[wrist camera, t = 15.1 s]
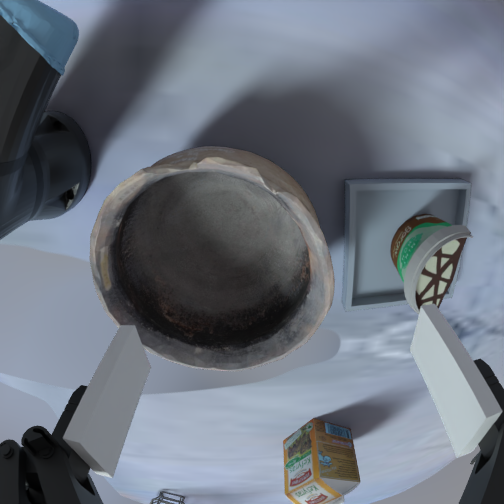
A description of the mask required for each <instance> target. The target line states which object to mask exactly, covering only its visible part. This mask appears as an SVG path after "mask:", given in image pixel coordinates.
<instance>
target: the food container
mask: <svg viewBox="0 0 504 504" xmlns="http://www.w3.org/2000/svg"><path fill="white" fill-rule="evenodd" d="M470 234H471V232H470V231H469V230H468V228H467V227H466V226H464V225H451V224H449V223H447V222H445V221H443V220H441V219H439V218H438V217H436V216H434V215H432V214H420V215H416V216H413V217H412V218H410V219H408V220H406V221H405V222H404V223H403V224H402V225H401V226H400V227H399V228H398V229H397V231H396V233H395V235H394V236H393V239H392V242H391V249H390V253H391V258H392V261H393V263H394V265H395V267H396V269H397V271H398V273H399V275H400V277H401V279H402V281H403V283H404V293H405V297H406V300H407V302H408V304H409V305H410V307H411V308H412V309H413V310H414V311H415V312H417V313H418V314H419V312H420V308H421V306H423V305H429V304H435V305H436V306H437V308H438V309H439V306H440V304H441V302H442V300H443V298H444V296H445V294H446V292H447V291H448V289H449V287H450V285H451V283H452V281H453V278H454V275H455V272H456V269H457V265H458V262H459V258H460V255H461V253H462V250H463V247H464V244H465V241H466V239H467V237H471V238H473V236H471V235H470Z"/></svg>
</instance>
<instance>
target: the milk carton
mask: <svg viewBox="0 0 504 504" xmlns="http://www.w3.org/2000/svg"><path fill="white" fill-rule="evenodd" d="M283 443H284V478H285V495H286V496H287V497H288V499H289V500H290V501H292V502H293V503H294V504H341V503H343V502H344V495H346V494H348V493H349V492H351V491H352V490H354V489H355V488H356V487H357V486H358V485H359V484H360V476H359V471H358V465H357V460H356V455H355V449H354V444H353V439H352V434H351V429H350V428H346V427H342V426H339V425H335V424H332V423H328V422H325V421H321V420H318V419H314V418H313V419H312V420H310V421H309V422H308V423H306V424H305V425H304V426H302V427H301V428H300V429H298V430H297V431H296V432H294V433H293V434H292V435H290V436H289V437H288V438H286V439H285V440H283Z"/></svg>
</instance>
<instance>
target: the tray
mask: <svg viewBox="0 0 504 504" xmlns="http://www.w3.org/2000/svg"><path fill="white" fill-rule="evenodd" d="M470 193H471V183H469V182H467V181H465V180H463V179H441V178H392V179H351V180H345V237H344V268H343V289H342V304H343V307H344V309H345V312H348V311H357V310H366V309H375V308H383V307H391V306H399V305H407V304H408V302H407V300H406V297H405V293H404V283H403V281H402V279H401V277H400V275H399V273H398V271H397V269H396V267H395V265H394V263H393V261H392V258H391V253H390V249H391V242H392V239H393V236H394V235H395V233H396V231H397V229H398V228H399V227H400V226H401V225H402V224H403V223H404V222H405V221H406V220H408V219H410V218H412V217H413V216H416V215H420V214H432V215H434V216H436V217H438V218H439V219H441V220H443V221H445V222H447V223H449V224H451V225H464V226H467V219H468V211H469V203H470ZM461 256H462V253H461V255H460V258H459V262H458V265H457V269H456V272H455V275H454V278H453V281H452V283H451V285H450V287H449V289H448V291H447V292H446V294H445V296H444V298H443V299H448V298H452V296H453V292H454V288H455V284H456V280H457V275H458V270H459V266H460V261H461Z"/></svg>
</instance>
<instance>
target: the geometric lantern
mask: <svg viewBox="0 0 504 504" xmlns="http://www.w3.org/2000/svg"><path fill="white" fill-rule="evenodd" d="M161 493H162V496H161ZM163 493H166V492H160V495H159V496H158V497H156V498H159V499H156V498H154V499H152V500H151V502H150V504H153V503H156V502H157V504H160V503H161V502H162V503H165V502H166V504H174V503H170V502H167V501H164V500H163V499H166V498H168V497H164V496H163ZM167 494H170V493H167ZM171 495H175V494H171ZM175 496H179V495H175ZM162 497H164V498H162ZM179 497H180V501H179V500H175V499H171V498H168V499H166V500H170V499H171V501H174V500H175V502H179V504H180V503H181V504H185V503H184V502H183V500H184V497H183V496H179ZM182 497H183V499H182V501H181V498H182ZM160 498H162V499H160ZM153 500H158V501H156V502H153ZM159 501H160V502H159Z"/></svg>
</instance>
